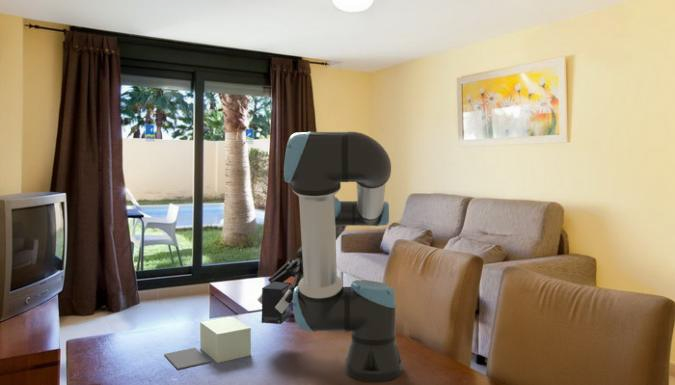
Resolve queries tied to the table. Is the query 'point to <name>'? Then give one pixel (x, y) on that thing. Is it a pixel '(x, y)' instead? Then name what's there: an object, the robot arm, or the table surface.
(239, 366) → the table surface
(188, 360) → the mat
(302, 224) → the robot arm
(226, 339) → the step
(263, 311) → the small box
